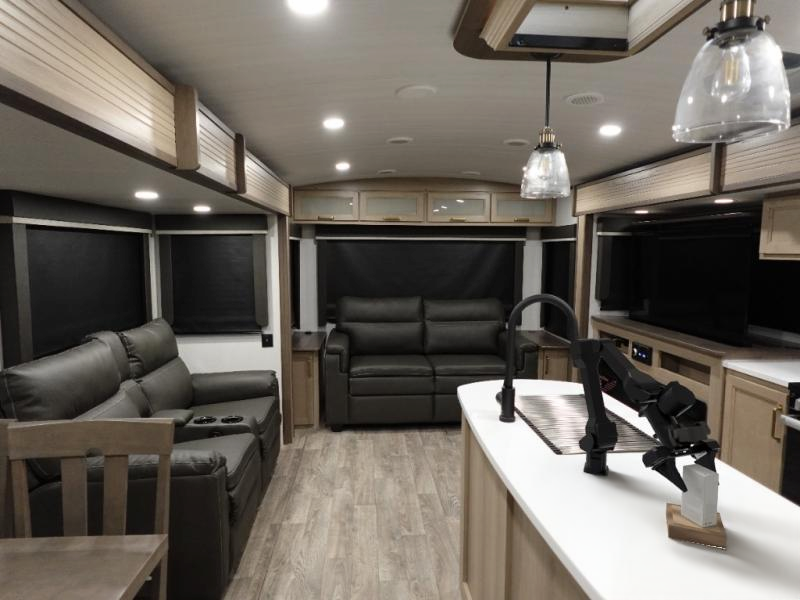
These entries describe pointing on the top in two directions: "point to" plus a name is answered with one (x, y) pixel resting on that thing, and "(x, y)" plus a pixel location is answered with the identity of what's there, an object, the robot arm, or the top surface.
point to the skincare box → (700, 495)
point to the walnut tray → (694, 529)
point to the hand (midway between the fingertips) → (702, 488)
